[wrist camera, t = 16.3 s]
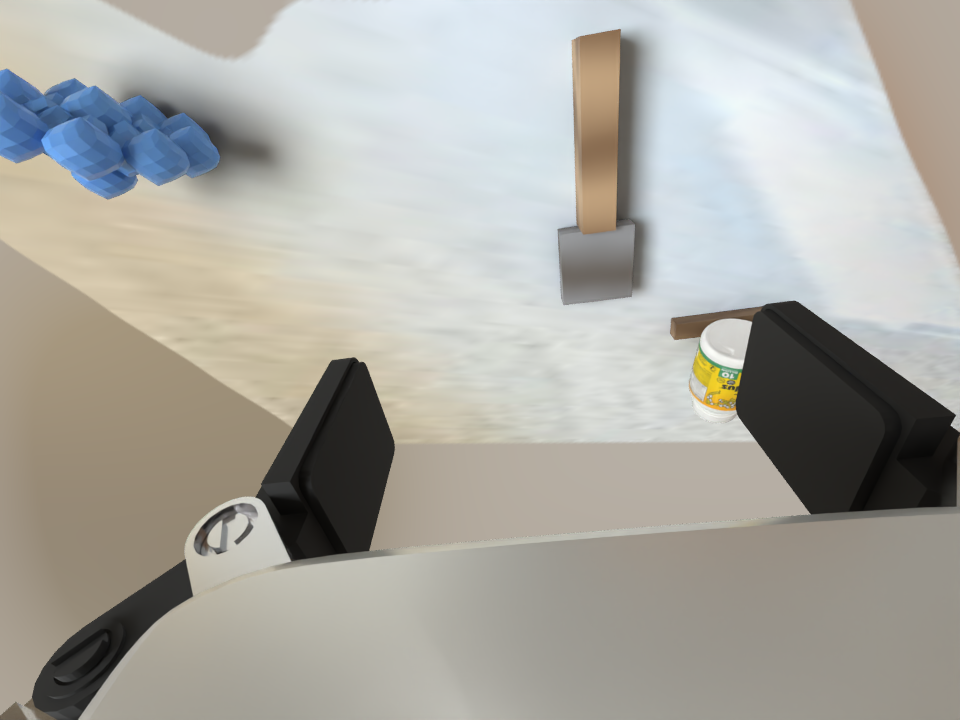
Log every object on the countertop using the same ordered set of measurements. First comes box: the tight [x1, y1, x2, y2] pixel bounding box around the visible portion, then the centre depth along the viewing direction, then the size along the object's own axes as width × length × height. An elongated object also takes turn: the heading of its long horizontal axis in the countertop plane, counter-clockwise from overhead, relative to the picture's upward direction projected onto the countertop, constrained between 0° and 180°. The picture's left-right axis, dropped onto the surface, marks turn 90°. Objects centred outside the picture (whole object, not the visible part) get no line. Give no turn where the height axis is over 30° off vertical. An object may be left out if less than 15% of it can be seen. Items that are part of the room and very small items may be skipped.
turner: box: [558, 29, 635, 305], centre depth 32 cm, size 18×6×3 cm, turn 9°
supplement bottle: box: [689, 318, 752, 423], centre depth 38 cm, size 5×5×10 cm
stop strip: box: [670, 307, 762, 340], centre depth 38 cm, size 2×10×1 cm, turn 99°
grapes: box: [0, 69, 220, 199], centre depth 26 cm, size 12×7×12 cm, turn 70°
